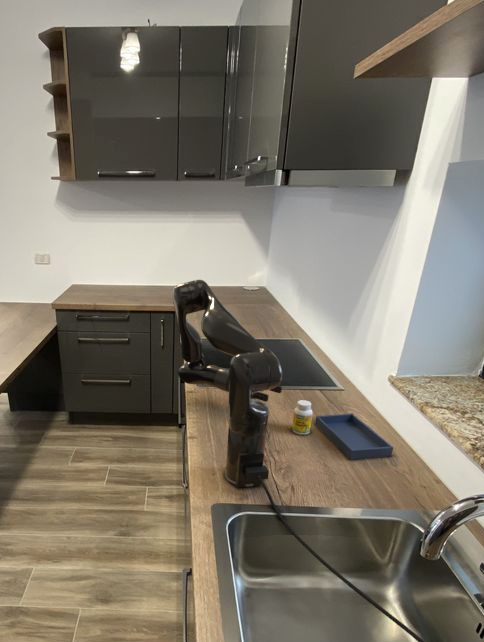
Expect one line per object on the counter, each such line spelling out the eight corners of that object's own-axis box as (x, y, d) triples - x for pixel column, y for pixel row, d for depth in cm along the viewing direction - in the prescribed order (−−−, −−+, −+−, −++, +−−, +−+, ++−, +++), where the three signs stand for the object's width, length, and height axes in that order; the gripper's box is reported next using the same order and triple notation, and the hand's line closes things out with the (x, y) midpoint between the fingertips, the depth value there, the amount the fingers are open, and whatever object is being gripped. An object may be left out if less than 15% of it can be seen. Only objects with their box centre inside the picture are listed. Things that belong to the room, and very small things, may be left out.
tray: (391, 456, 123) (393, 447, 121) (350, 459, 121) (352, 450, 120) (350, 421, 142) (352, 413, 141) (314, 424, 140) (316, 416, 139)
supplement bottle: (309, 428, 138) (313, 400, 134) (310, 436, 133) (314, 407, 129) (291, 426, 139) (295, 398, 135) (291, 434, 134) (295, 405, 130)
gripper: (219, 376, 141) (264, 389, 132) (243, 365, 151) (286, 376, 141) (218, 398, 145) (262, 412, 135) (241, 385, 154) (284, 398, 145)
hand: (274, 394), depth 138 cm, fingers open, 8 cm apart
